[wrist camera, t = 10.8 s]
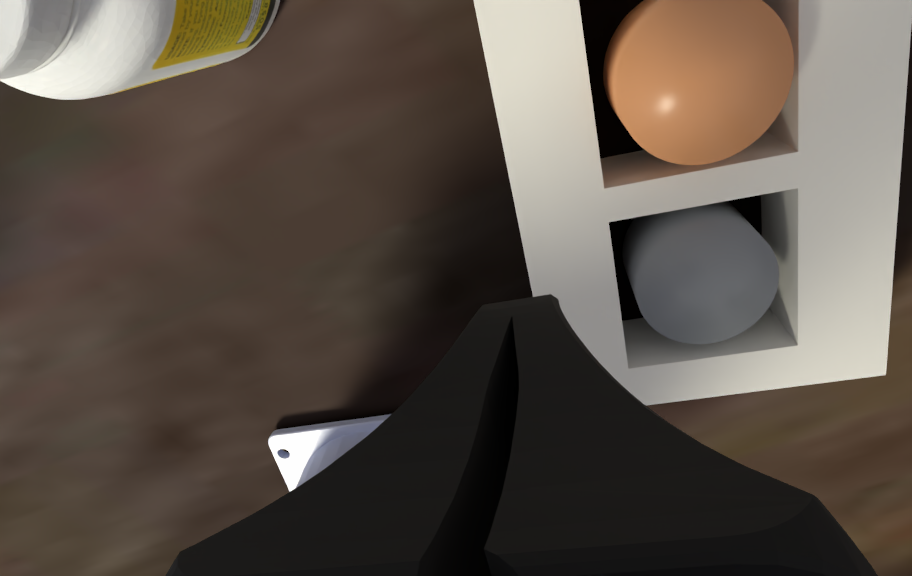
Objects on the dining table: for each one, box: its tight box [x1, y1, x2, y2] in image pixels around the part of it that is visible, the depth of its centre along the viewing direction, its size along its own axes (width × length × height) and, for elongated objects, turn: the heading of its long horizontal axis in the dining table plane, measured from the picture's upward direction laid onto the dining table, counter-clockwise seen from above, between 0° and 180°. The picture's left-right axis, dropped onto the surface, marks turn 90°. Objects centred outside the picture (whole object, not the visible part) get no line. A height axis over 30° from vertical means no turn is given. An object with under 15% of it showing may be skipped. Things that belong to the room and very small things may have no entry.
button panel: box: [474, 0, 912, 405], centre depth 17 cm, size 20×10×3 cm, turn 13°
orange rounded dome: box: [603, 0, 794, 165], centre depth 16 cm, size 4×4×3 cm
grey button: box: [622, 201, 779, 344], centre depth 19 cm, size 4×4×3 cm
